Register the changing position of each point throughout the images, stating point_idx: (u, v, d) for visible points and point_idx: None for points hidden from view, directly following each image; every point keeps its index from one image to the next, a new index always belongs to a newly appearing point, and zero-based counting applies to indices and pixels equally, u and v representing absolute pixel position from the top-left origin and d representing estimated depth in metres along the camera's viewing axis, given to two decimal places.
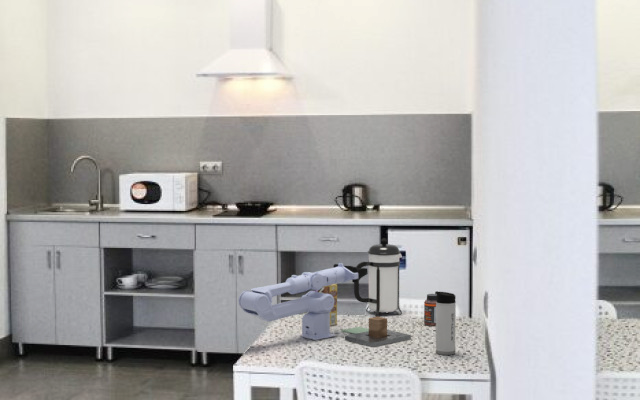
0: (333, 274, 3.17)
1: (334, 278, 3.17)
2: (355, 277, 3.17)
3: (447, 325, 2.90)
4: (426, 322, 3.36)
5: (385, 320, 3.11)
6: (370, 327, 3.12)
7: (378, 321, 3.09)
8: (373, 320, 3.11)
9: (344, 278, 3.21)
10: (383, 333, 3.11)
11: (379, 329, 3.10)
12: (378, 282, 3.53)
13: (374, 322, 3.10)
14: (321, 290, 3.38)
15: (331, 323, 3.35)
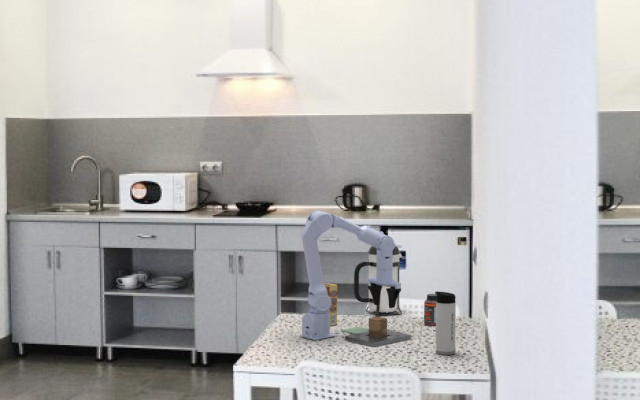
0: (390, 266, 3.21)
1: (386, 266, 3.20)
2: (398, 284, 3.17)
3: (447, 325, 2.90)
4: (426, 322, 3.36)
5: (385, 320, 3.11)
6: (370, 327, 3.12)
7: (378, 321, 3.09)
8: (373, 320, 3.11)
9: (387, 280, 3.20)
10: (383, 333, 3.11)
11: (379, 329, 3.10)
12: None
13: (374, 322, 3.10)
14: None
15: (331, 323, 3.35)
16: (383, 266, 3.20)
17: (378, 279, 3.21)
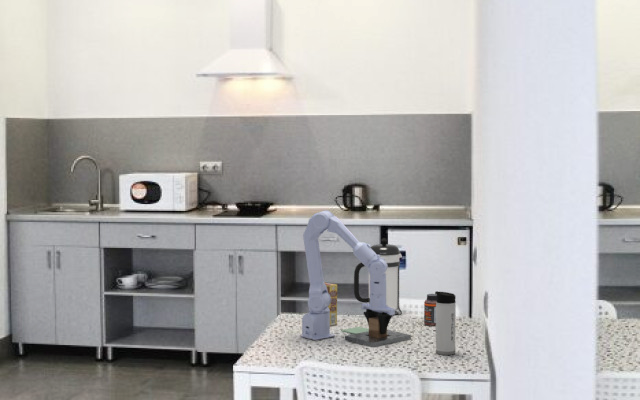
0: (380, 291, 3.09)
1: (375, 292, 3.09)
2: (392, 310, 3.06)
3: (447, 325, 2.90)
4: (426, 322, 3.36)
5: None
6: (370, 327, 3.12)
7: (378, 321, 3.09)
8: (373, 320, 3.11)
9: (381, 306, 3.09)
10: None
11: (379, 329, 3.10)
12: None
13: (374, 322, 3.10)
14: None
15: (331, 323, 3.35)
16: (372, 291, 3.09)
17: (371, 305, 3.10)
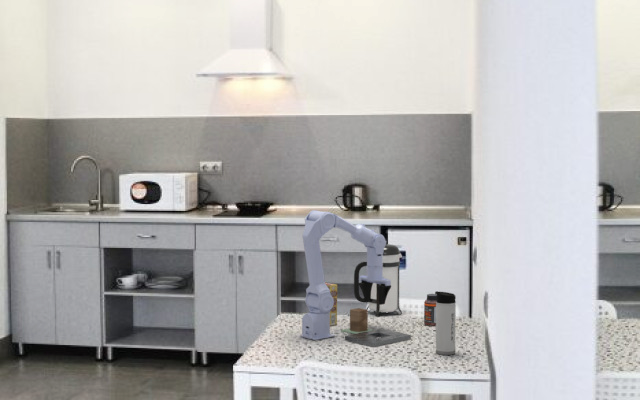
0: (381, 263, 3.28)
1: (379, 264, 3.27)
2: (388, 281, 3.24)
3: (447, 325, 2.90)
4: (426, 322, 3.36)
5: (365, 311, 3.25)
6: (351, 318, 3.25)
7: (359, 312, 3.23)
8: (354, 311, 3.24)
9: (377, 277, 3.27)
10: (363, 324, 3.24)
11: (360, 320, 3.23)
12: None
13: (355, 313, 3.24)
14: None
15: (331, 323, 3.35)
16: (376, 263, 3.27)
17: (368, 276, 3.28)
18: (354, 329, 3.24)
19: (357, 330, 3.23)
